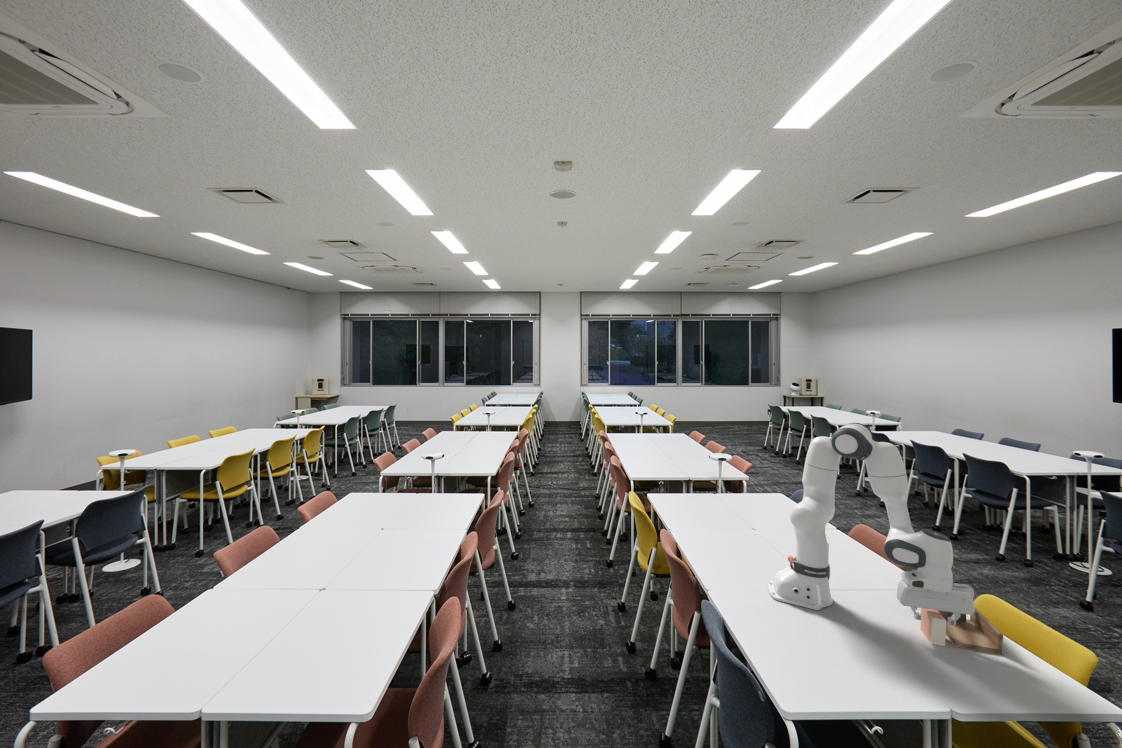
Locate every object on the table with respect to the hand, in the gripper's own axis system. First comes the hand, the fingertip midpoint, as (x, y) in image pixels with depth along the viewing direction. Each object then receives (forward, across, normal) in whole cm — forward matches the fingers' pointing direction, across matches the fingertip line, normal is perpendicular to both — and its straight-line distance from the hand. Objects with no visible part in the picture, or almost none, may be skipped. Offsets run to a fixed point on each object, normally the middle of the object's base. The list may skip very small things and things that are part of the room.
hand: (934, 621), depth 146 cm
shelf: (+6, -11, -5) cm, 13 cm away
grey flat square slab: (+4, -10, -12) cm, 16 cm away
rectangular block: (+6, 0, 0) cm, 6 cm away
